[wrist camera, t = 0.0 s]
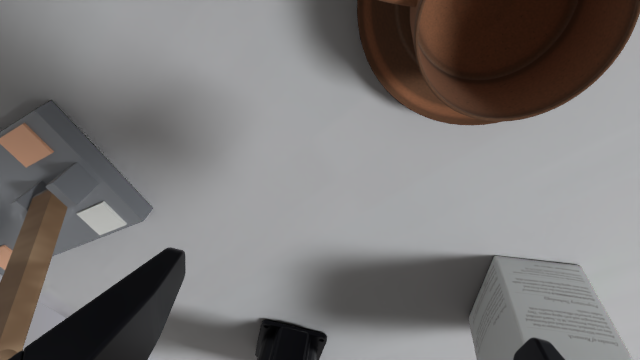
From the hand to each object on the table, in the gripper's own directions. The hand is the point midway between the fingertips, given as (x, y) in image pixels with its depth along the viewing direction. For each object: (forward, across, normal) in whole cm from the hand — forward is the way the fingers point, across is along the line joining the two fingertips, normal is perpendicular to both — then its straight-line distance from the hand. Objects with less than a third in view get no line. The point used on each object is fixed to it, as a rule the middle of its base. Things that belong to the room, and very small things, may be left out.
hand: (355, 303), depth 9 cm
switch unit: (+15, +24, +16) cm, 33 cm away
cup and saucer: (+15, -4, -6) cm, 17 cm away
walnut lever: (+12, +19, +12) cm, 25 cm away
